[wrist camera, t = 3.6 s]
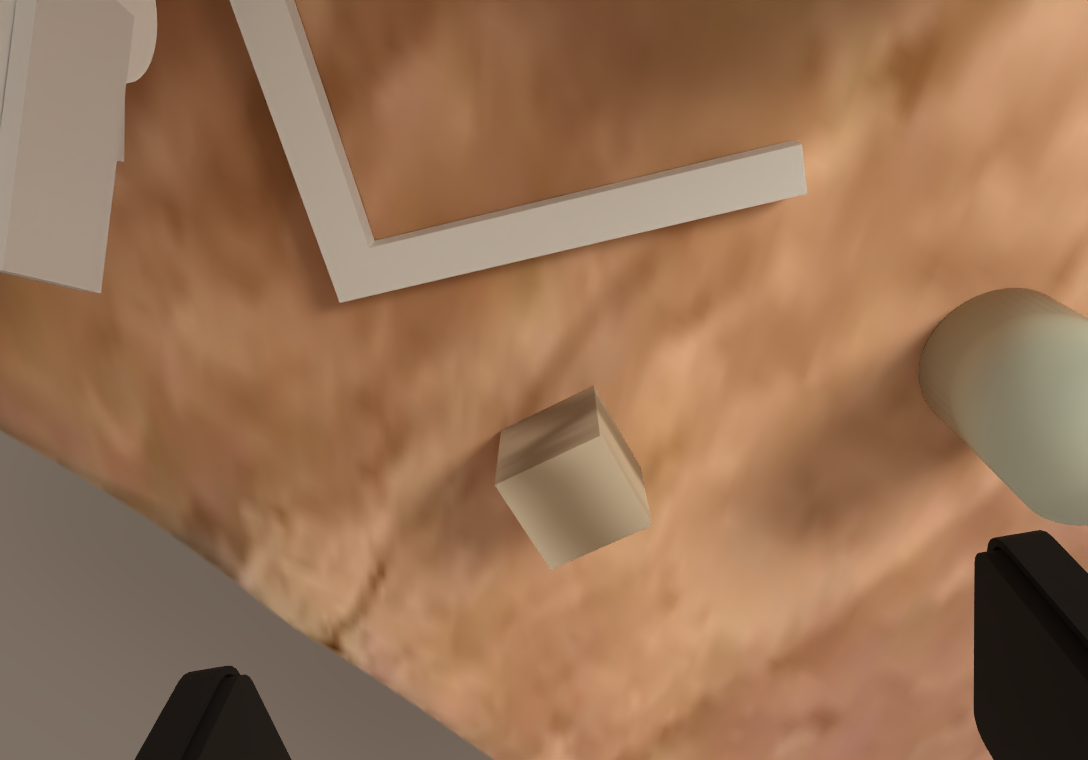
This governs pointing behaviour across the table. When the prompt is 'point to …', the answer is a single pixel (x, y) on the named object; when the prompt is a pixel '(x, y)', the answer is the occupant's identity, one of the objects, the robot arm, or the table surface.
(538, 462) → the birch block
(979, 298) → the pale green cylinder
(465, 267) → the corral
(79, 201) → the spiral staircase
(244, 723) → the robot arm
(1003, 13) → the table surface
